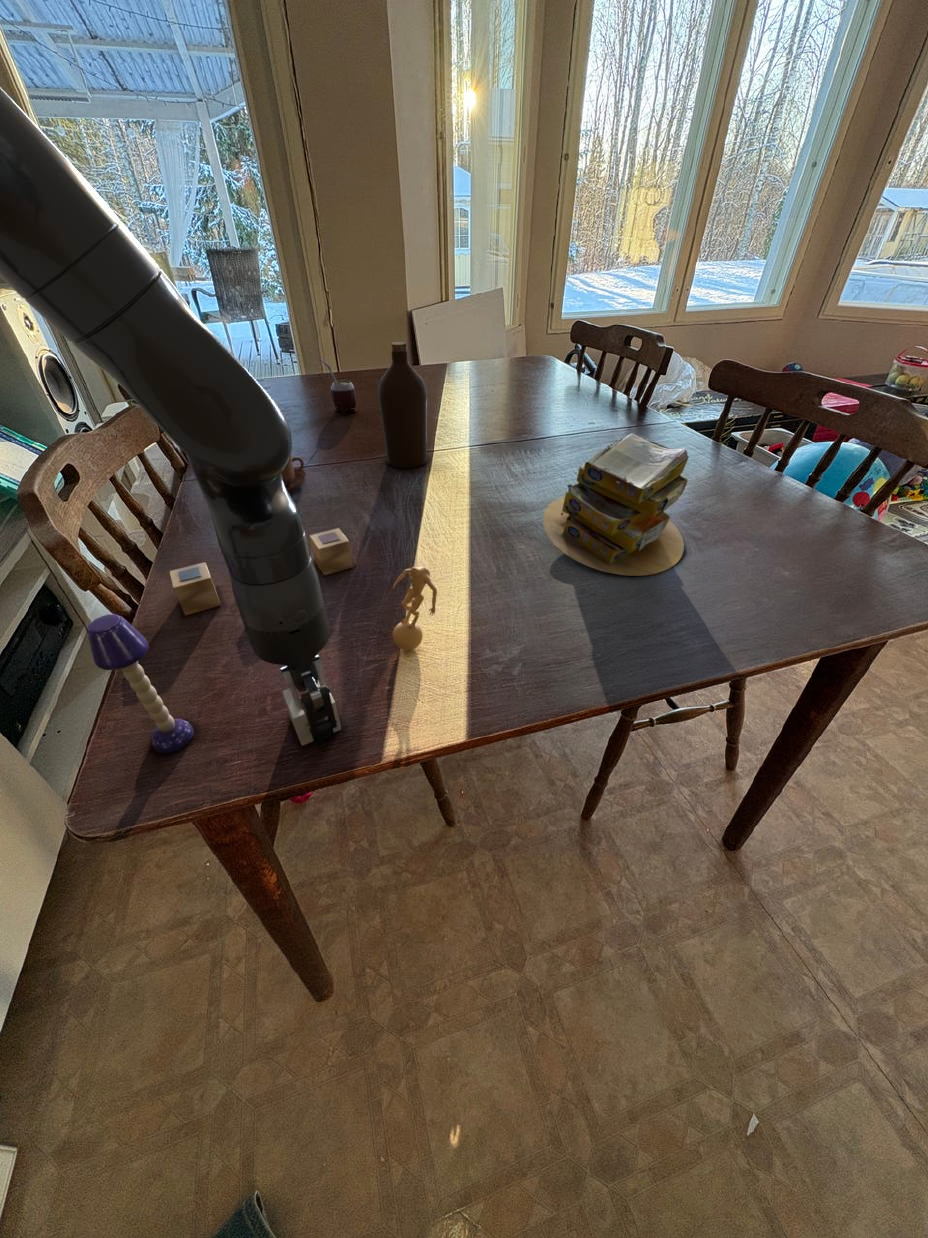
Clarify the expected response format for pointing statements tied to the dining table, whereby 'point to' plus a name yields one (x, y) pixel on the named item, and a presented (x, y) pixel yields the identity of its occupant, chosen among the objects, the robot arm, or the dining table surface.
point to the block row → (200, 590)
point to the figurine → (413, 608)
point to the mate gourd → (342, 394)
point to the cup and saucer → (293, 474)
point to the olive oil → (403, 411)
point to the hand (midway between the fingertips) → (314, 718)
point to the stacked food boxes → (622, 509)
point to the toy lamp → (136, 676)
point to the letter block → (300, 719)
